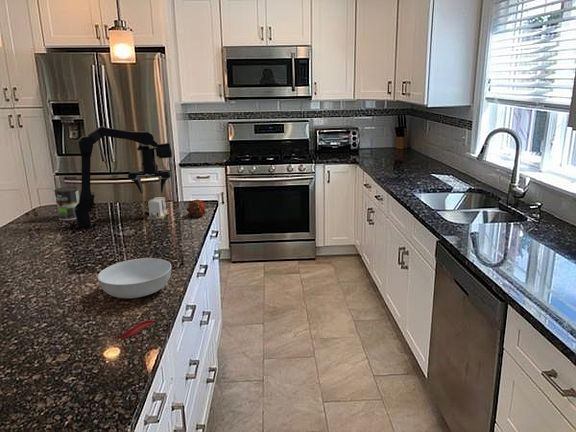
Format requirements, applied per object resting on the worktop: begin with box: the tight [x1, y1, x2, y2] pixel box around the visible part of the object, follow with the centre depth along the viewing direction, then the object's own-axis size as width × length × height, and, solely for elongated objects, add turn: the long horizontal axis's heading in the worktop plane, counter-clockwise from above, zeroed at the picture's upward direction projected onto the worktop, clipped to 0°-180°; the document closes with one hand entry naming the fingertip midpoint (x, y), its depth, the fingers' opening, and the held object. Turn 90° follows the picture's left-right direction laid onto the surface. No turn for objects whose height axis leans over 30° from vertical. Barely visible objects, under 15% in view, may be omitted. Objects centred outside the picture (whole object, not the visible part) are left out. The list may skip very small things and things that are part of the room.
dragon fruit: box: [186, 199, 207, 218], centre depth 221 cm, size 8×8×12 cm
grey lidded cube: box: [147, 199, 163, 217], centre depth 220 cm, size 6×5×7 cm
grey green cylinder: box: [53, 186, 80, 221], centre depth 223 cm, size 10×10×14 cm
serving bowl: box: [96, 257, 172, 299], centre depth 139 cm, size 21×21×7 cm
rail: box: [146, 196, 169, 221], centre depth 223 cm, size 16×7×7 cm, turn 5°
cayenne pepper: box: [114, 319, 158, 339], centre depth 117 cm, size 12×5×2 cm, turn 125°
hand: (151, 193), depth 218 cm, fingers open, 9 cm apart
